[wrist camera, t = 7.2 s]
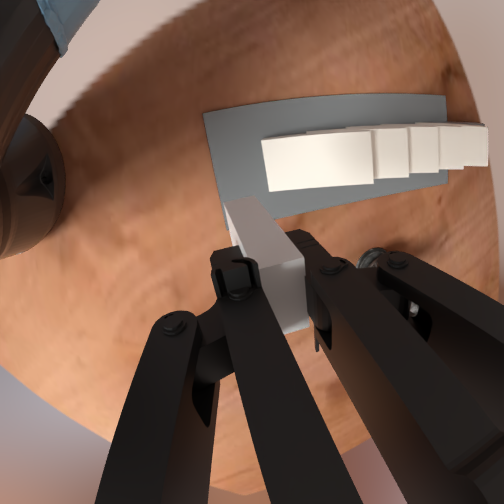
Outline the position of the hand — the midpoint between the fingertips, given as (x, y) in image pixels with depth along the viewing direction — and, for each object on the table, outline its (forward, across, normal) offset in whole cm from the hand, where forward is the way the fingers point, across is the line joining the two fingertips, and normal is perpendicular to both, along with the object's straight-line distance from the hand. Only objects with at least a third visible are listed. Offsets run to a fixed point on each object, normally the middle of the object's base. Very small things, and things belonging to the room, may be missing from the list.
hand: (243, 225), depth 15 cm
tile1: (+15, +5, -1) cm, 15 cm away
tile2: (+14, +9, -1) cm, 17 cm away
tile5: (+14, +23, -1) cm, 27 cm away
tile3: (+14, +14, -1) cm, 20 cm away
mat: (+16, +15, -1) cm, 22 cm away
